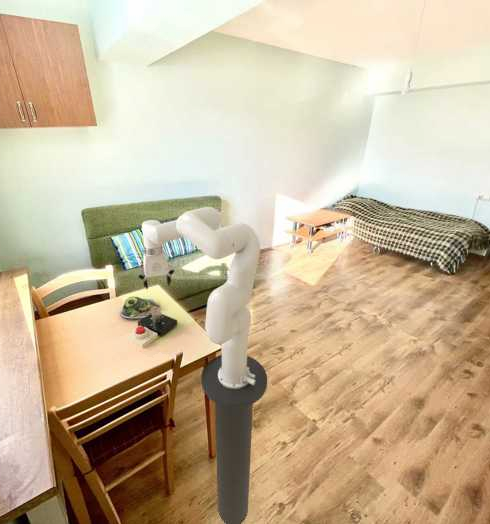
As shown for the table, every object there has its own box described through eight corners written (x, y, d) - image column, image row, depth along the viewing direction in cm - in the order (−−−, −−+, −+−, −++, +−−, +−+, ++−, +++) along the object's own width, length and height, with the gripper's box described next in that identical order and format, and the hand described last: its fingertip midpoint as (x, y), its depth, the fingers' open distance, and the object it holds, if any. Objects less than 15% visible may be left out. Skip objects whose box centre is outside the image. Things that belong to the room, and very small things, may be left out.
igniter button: (146, 331, 122) (146, 327, 122) (140, 335, 120) (140, 332, 119) (141, 328, 124) (140, 325, 123) (134, 332, 121) (134, 329, 121)
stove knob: (163, 320, 132) (162, 310, 130) (157, 324, 128) (156, 315, 126) (157, 317, 134) (156, 307, 132) (150, 321, 131) (149, 312, 129)
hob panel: (177, 324, 133) (177, 319, 132) (161, 336, 124) (160, 332, 123) (154, 315, 140) (154, 310, 139) (138, 326, 132) (137, 321, 131)
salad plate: (164, 300, 152) (163, 292, 149) (155, 321, 136) (154, 313, 134) (129, 299, 153) (128, 292, 150) (116, 319, 137) (115, 312, 135)
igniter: (158, 337, 124) (157, 330, 122) (142, 348, 117) (141, 341, 115) (140, 329, 129) (139, 322, 128) (125, 340, 122) (124, 332, 121)
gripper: (133, 255, 111) (138, 293, 118) (176, 250, 117) (178, 286, 123) (131, 249, 117) (136, 285, 124) (172, 244, 123) (175, 279, 130)
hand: (157, 285), depth 124 cm, fingers open, 9 cm apart
